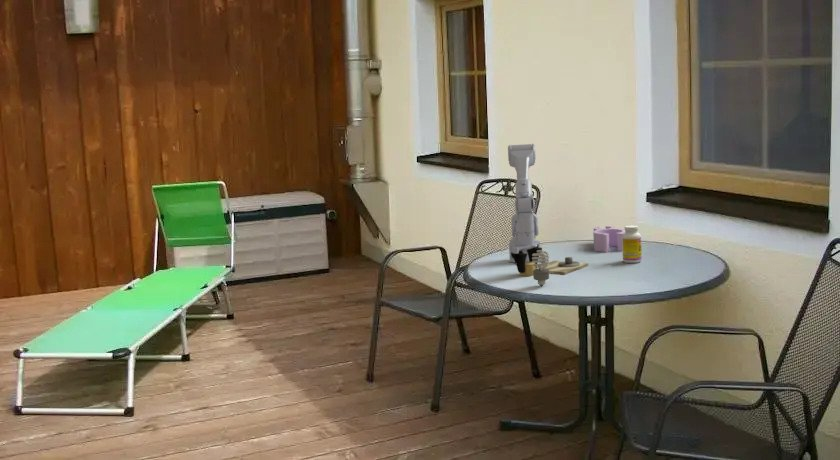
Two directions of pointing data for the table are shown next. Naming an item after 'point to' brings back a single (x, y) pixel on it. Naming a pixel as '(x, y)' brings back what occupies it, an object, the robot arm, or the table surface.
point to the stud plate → (564, 266)
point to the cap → (528, 269)
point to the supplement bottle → (631, 245)
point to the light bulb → (541, 273)
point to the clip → (607, 238)
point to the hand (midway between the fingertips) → (527, 270)
